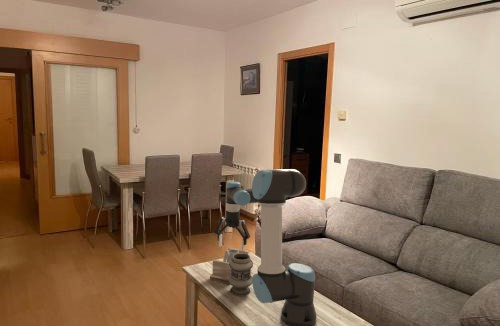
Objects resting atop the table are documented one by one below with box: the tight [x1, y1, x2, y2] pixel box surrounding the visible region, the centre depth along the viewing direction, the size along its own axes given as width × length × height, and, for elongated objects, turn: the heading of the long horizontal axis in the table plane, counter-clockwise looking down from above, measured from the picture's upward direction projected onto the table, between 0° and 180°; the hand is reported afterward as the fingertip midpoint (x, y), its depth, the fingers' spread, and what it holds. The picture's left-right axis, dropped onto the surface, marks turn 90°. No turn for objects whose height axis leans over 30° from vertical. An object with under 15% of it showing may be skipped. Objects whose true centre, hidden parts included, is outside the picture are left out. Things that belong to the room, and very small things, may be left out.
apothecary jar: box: [229, 253, 254, 297], centre depth 174 cm, size 12×12×18 cm
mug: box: [222, 248, 239, 263], centre depth 194 cm, size 8×12×12 cm, turn 142°
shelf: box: [209, 247, 249, 285], centre depth 195 cm, size 26×12×10 cm, turn 159°
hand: (231, 248), depth 193 cm, fingers open, 13 cm apart
